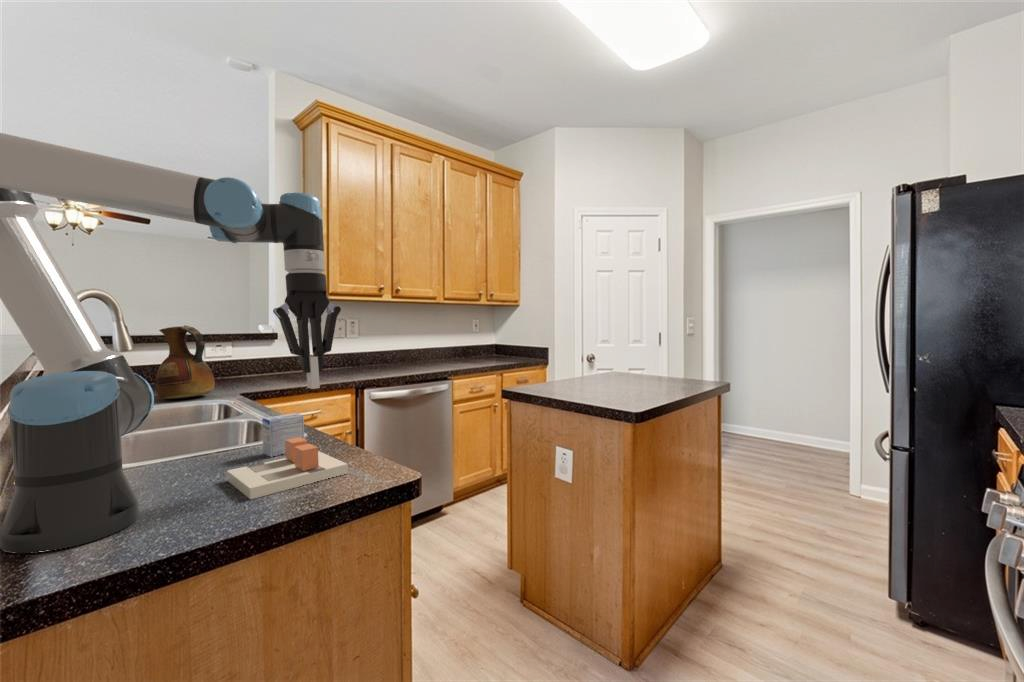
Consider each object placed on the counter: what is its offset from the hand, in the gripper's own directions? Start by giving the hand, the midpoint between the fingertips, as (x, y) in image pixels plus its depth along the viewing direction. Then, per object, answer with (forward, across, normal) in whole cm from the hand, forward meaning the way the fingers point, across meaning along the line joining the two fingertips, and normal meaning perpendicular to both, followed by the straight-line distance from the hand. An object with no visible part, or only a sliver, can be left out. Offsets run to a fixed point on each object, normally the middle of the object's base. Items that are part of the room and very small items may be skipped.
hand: (313, 387), depth 94 cm
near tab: (+15, -4, -3) cm, 16 cm away
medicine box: (+18, -1, +20) cm, 26 cm away
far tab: (+15, -3, +4) cm, 16 cm away
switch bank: (+17, -6, 0) cm, 18 cm away
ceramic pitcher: (+16, -4, +132) cm, 133 cm away
